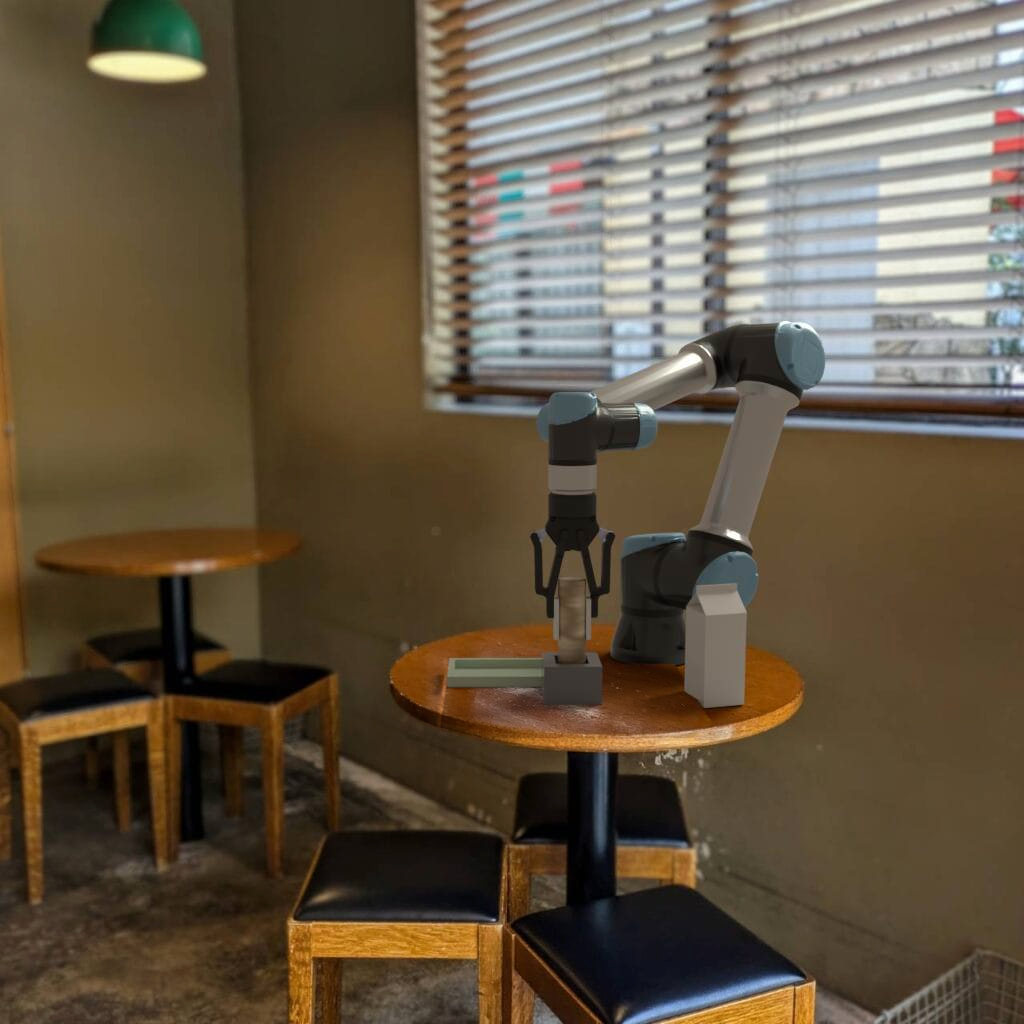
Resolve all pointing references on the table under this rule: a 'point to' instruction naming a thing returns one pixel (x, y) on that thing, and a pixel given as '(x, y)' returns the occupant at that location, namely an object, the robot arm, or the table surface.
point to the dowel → (572, 620)
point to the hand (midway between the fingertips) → (571, 637)
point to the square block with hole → (571, 681)
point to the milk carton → (715, 646)
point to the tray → (494, 672)
